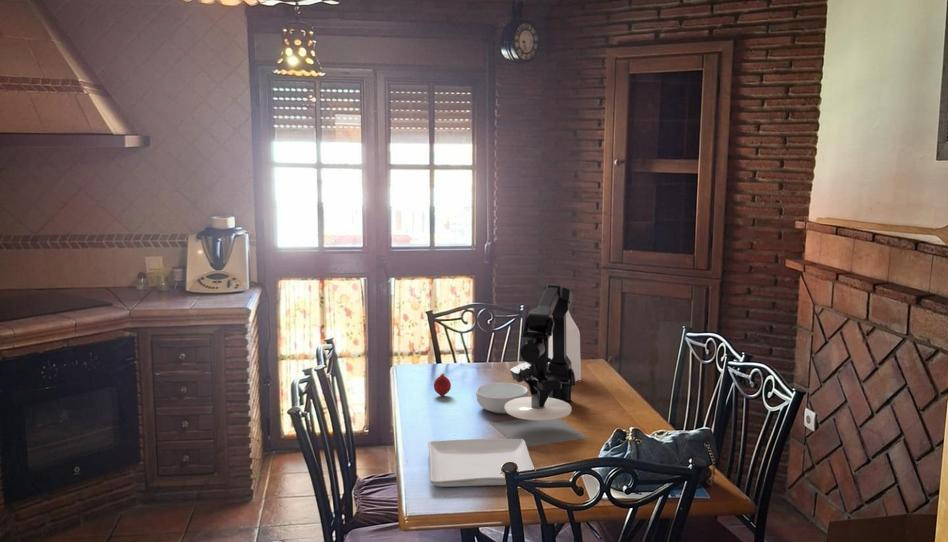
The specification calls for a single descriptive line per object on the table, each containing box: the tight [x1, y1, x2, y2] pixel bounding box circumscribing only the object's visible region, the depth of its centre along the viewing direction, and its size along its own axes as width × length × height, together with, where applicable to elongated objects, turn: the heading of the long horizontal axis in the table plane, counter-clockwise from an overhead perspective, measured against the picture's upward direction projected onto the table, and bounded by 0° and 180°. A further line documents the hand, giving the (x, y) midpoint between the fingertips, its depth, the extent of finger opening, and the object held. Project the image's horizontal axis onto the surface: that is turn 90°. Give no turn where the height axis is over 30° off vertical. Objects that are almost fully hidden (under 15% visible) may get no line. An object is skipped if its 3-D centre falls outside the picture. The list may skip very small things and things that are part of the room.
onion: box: [433, 372, 452, 397], centre depth 280 cm, size 6×6×8 cm
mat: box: [489, 418, 588, 448], centre depth 247 cm, size 22×22×1 cm
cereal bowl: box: [475, 382, 529, 414], centre depth 266 cm, size 17×17×7 cm
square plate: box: [427, 438, 536, 488], centre depth 218 cm, size 27×27×4 cm
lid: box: [505, 394, 573, 421], centre depth 246 cm, size 20×20×4 cm
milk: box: [548, 309, 582, 381], centre depth 300 cm, size 12×12×26 cm
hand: (537, 404), depth 246 cm, fingers closed on lid, 4 cm apart
